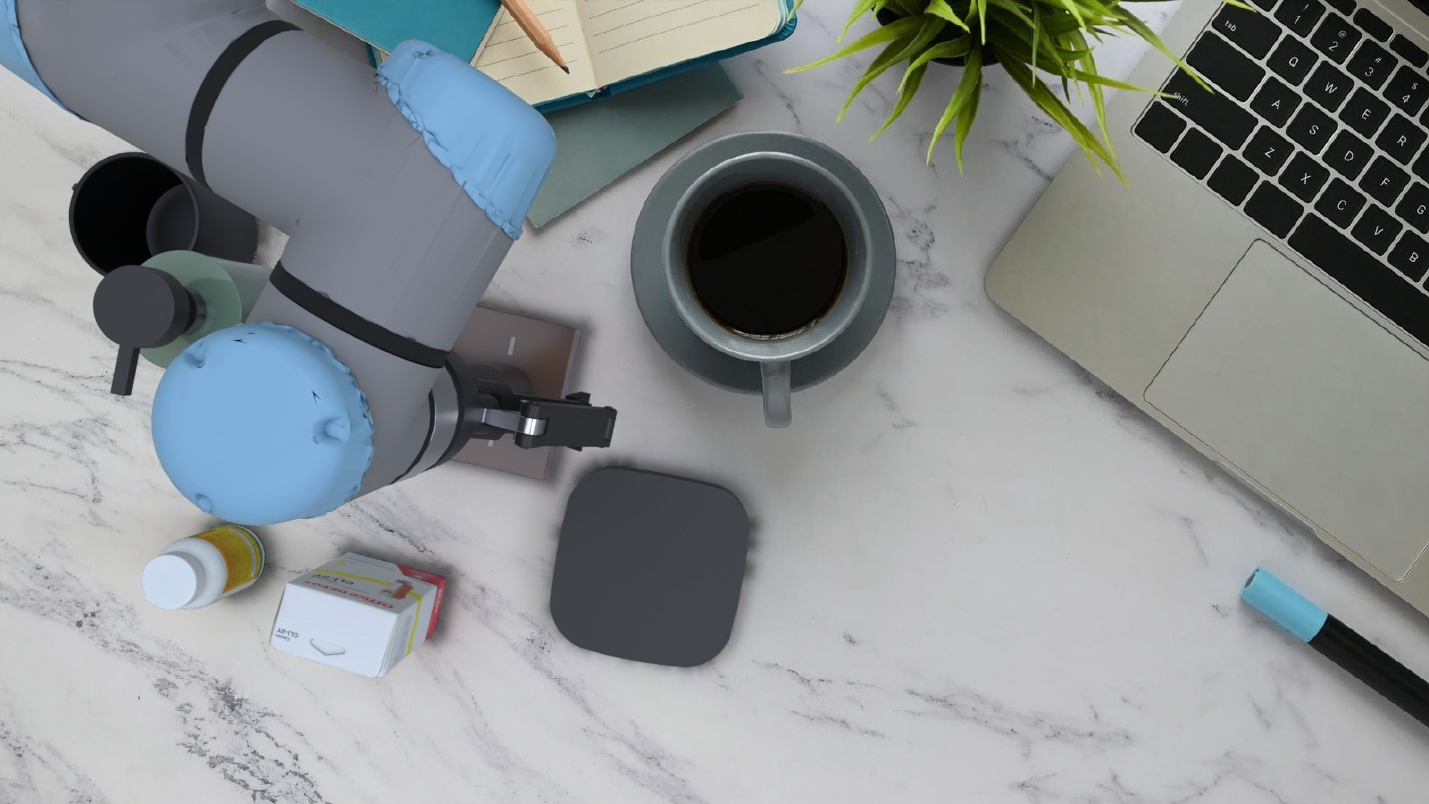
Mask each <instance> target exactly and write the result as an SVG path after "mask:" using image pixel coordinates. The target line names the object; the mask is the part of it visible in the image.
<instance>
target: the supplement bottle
mask: <svg viewBox="0 0 1429 804" xmlns="http://www.w3.org/2000/svg"><path fill="white" fill-rule="evenodd" d="M265 555H266V554H265V549H264V546H263V544H262V542H261V540H260V538H259V537H258V536H257V535H256V534H255V533H254V532H253V531H252V530H251V529H248V528H246V527H244V526H241V525H237V524H236V525H235V524H227V525H221V526H218V527H214V528H212V529H209V530H205V531H201V532H199V533H196V534H192V535H190V536H186V537H183V538H179V539H177V540H175V541H173V542H171V543H169V544H167V546H165V547H164V548H163V549H161V551H160V552H159V554H158V555H157V556H155V557H154V558H152V559H151V560H150V561H148V563H147V564H146V565H145V567H144V568H143V571H142V574H141V577H140V585H141V590H142V592H143V595H144V597H145V598H146V599H147V600H148V601H149V603H150V604H152V605H153V606H155V607H157V608H159V609H161V610H167V611H169V610H170V611H172V610H177V609H179V610H185V611H193V610H195V611H196V610H199V609H203V608H206V607H208V606H210V605H213V604H214V603H216V602H219V601H221V600H223V599H226V598H228V597H229V596H232V595H234V594H236V593H238V592H240V591H242V590H245V589H247V588H248V587H250V586H252V585H253V584H254V583H255V582H256V581H257V580H258V579H259V577H260V576H261V574H262V573H263V571H264V565H265V561H266V560H265V559H266V558H265V557H266V556H265Z"/></svg>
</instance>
